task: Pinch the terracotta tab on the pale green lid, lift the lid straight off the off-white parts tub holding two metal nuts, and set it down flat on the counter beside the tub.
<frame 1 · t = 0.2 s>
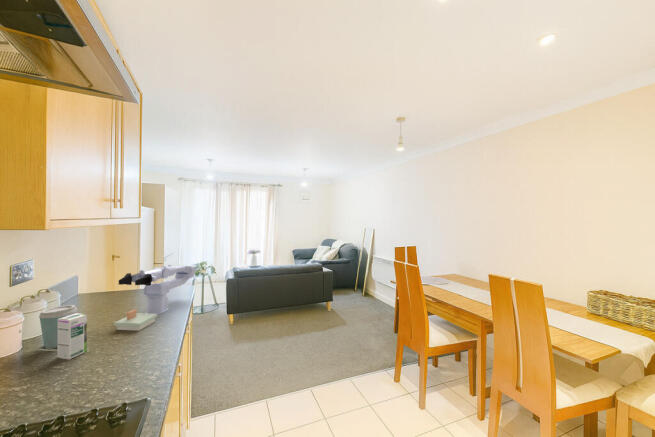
hand: (127, 282, 118), 21 cm above the countertop, tool horizontal, fingers open, 7 cm apart
syrup box: (72, 355, 96), on the countertop
tub: (136, 326, 121), on the countertop
lid: (136, 321, 121), point 2 cm above the countertop, touching tub
disposable coffee cup: (57, 345, 102), on the countertop
brass nut: (145, 323, 123), point 1 cm above the countertop, touching tub
steel nut: (129, 327, 118), point 1 cm above the countertop, touching tub
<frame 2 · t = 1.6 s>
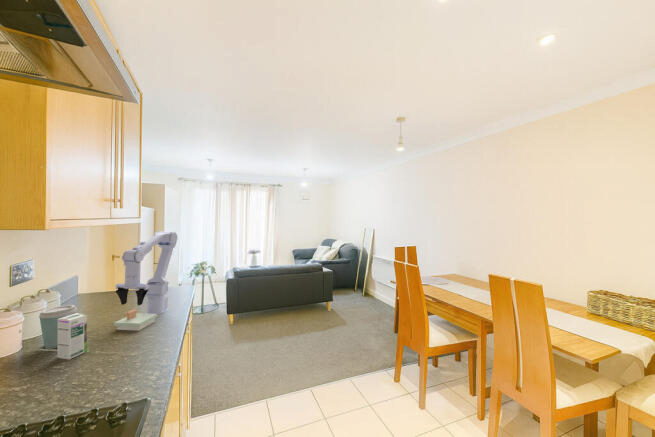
hand: (132, 304, 121), 10 cm above the countertop, tool pointing down, fingers open, 7 cm apart
nothing on the countertop moved.
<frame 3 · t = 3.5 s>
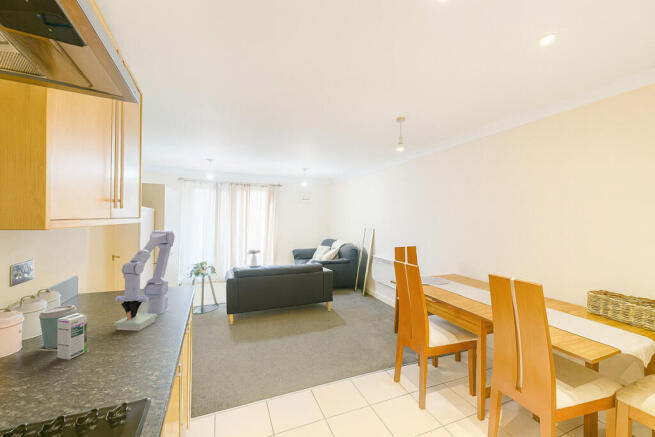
hand: (131, 316, 121), 5 cm above the countertop, tool pointing down, fingers closed on lid
lid: (136, 321, 121), point 2 cm above the countertop, touching gripper, tub
everything else where it was.
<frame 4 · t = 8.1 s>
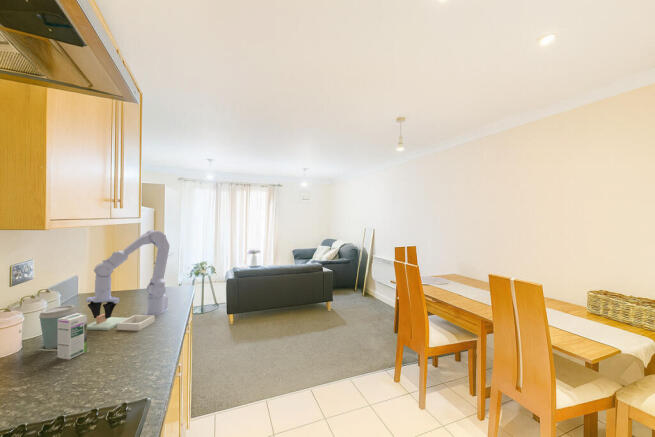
hand: (102, 317, 121), 4 cm above the countertop, tool pointing down, fingers open, 5 cm apart
lid: (106, 325, 121), on the countertop
everything else where it was.
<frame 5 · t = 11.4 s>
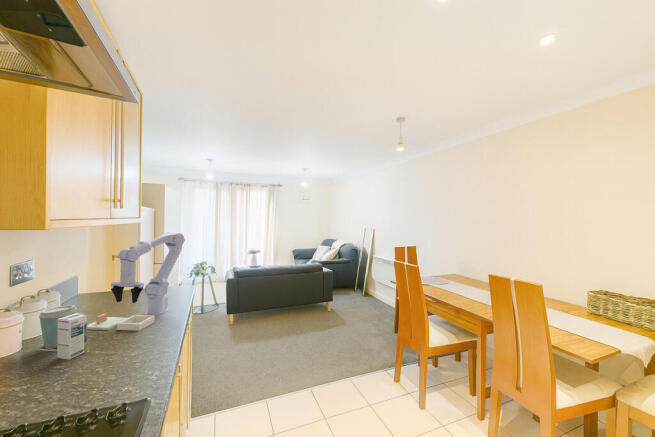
hand: (126, 302, 123), 10 cm above the countertop, tool pointing down, fingers open, 7 cm apart
nothing on the countertop moved.
at the end: lid inside the target area (0.3 cm from its centre), on the countertop; lid tilted 0°; the gripper is holding nothing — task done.
